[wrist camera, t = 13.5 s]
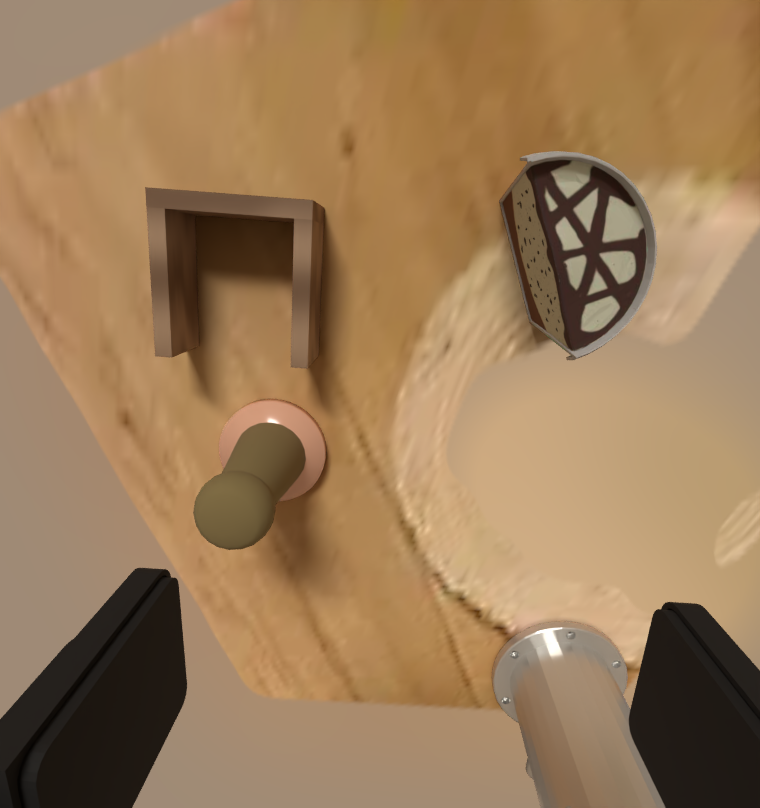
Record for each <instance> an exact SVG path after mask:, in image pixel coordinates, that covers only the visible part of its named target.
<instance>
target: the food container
mask: <svg viewBox="0 0 760 808" xmlns="http://www.w3.org/2000/svg"><path fill="white" fill-rule="evenodd" d="M520 160H521V161H527V164H526V166H525V167H524V168H523V170H522V171H521V172H520V174H519V175H518V176H517V178H516V179H515V180H514V182H513V183H512V184H511V186H510V187H509V188H508V190H507V191H506V192H505V194H504V195H503V196H502V198H501V199H500V200H499V202H500V206H501V210H502V214H503V218H504V222H505V226H506V230H507V234H508V238H509V242H510V246H511V250H512V254H513V258H514V262H515V266H516V270H517V274H518V278H519V282H520V286H521V290H522V294H523V298H524V302H525V306H526V310H527V314H528V318H529V322H530V323H531V324H533V325H534V326H535V327H536V328H538V329H539V330H540V331H541V332H543V333H544V334H545V335H546V336H548V337H549V338H550V339H551V340H553V341H554V342H555V343H556V344H558V345H559V346H560V347H562V348H563V349H564V350H565V351H567V352H568V353H569V354H571V356H569V357H567V360H575V359H577V358H580V357H582V356H585V355H588V354H589V353H591V352H593V351H595V350H597V349H598V348H600V347H602V346H603V345H605V344H606V343H607V342H608V341H610V340H611V339H613V338H614V337H615V336H616V335H617V334H618V333H619V332H620V331H621V330H622V329H623V328H624V327H625V326H626V325H627V324H628V323H629V322H630V320H631V319H632V318H633V317H634V315H635V314H636V313H637V311H638V310H639V308H640V306H641V304H642V303H643V301H644V299H645V297H646V295H647V293H648V290H649V287H650V285H651V282H652V279H653V274H654V270H655V265H656V255H657V242H656V231H655V227H654V223H653V219H652V215H651V213H650V211H649V209H648V206H647V204H646V202H645V200H644V198H643V196H642V195H641V193H640V192H639V191H638V189H637V188H636V186H635V185H634V184H633V183H632V182H631V181H630V180H629V179H628V178H627V177H626V176H625V175H624V174H623V173H622V172H621V171H619V170H618V169H616V168H615V167H613V166H612V165H611V164H609V163H607V162H604V161H602V160H600V159H598V158H596V157H593V156H589V155H585V154H581V153H574V152H557V151H552V152H543V153H535V154H531V155H527V156H524V157H520Z"/></svg>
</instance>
